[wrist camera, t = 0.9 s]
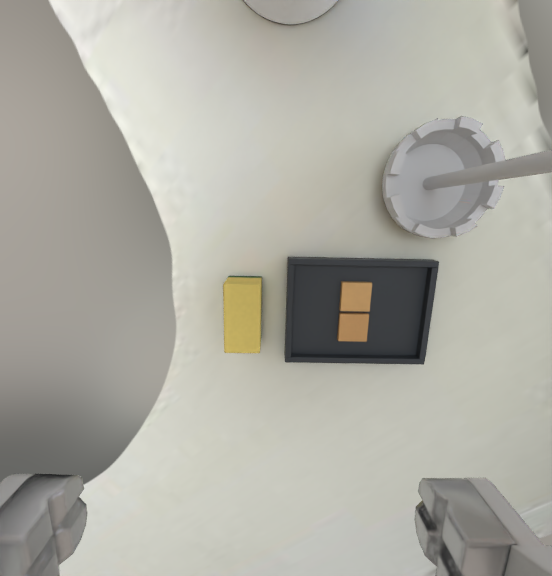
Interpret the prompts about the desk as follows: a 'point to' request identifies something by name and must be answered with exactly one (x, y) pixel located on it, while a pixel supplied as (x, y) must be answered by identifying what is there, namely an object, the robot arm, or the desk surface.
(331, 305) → the tray
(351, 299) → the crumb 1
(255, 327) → the sponge
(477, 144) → the flag stand
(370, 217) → the desk surface
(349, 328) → the crumb
